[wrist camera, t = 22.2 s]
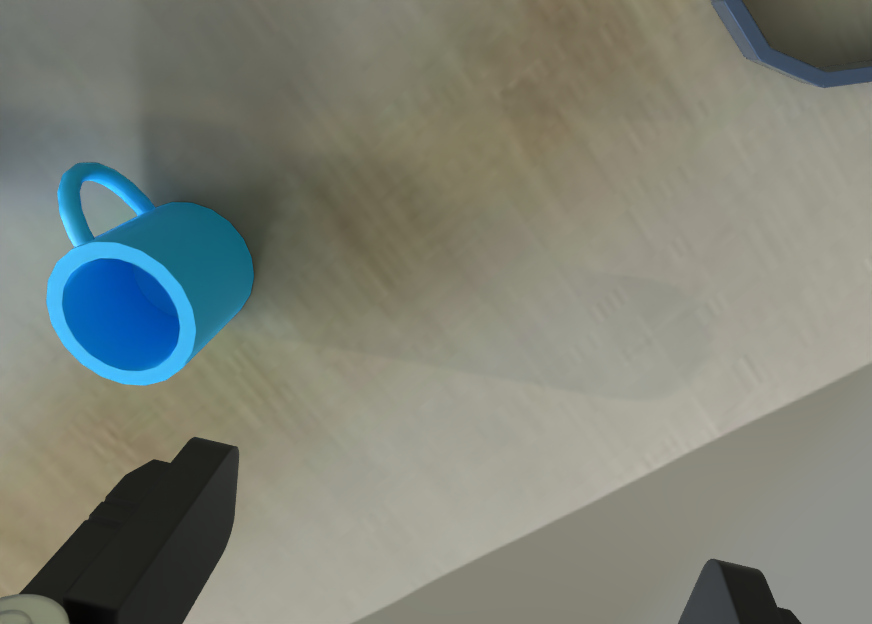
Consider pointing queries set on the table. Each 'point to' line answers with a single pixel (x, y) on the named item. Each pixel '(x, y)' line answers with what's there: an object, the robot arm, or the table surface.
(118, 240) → the mug
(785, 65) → the ring
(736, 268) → the table surface
